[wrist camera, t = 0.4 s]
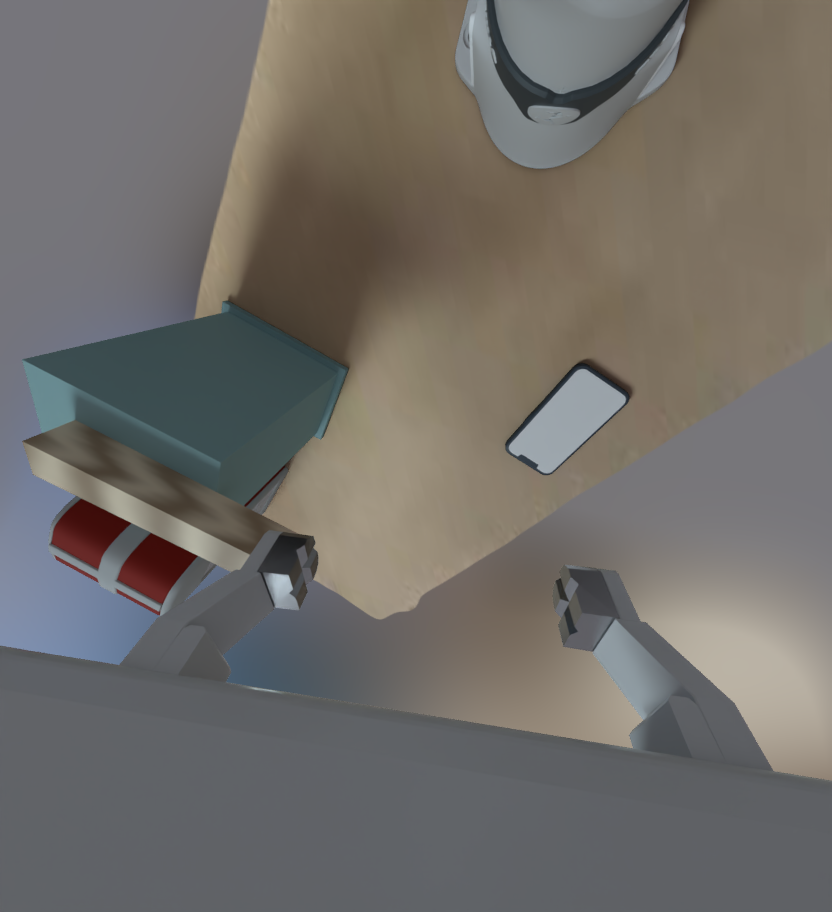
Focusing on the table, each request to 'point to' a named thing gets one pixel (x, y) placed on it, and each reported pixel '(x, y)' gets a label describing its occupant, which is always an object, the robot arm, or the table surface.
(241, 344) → the tall teal upright box
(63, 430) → the rail
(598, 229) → the table surface
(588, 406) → the phone case
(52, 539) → the red striped toaster
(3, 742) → the robot arm
